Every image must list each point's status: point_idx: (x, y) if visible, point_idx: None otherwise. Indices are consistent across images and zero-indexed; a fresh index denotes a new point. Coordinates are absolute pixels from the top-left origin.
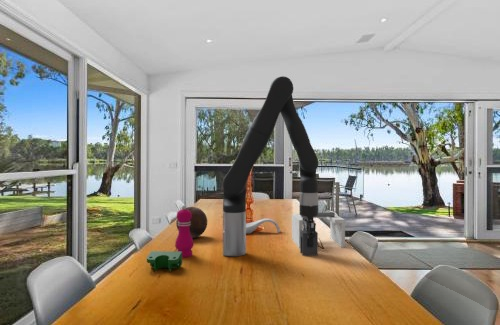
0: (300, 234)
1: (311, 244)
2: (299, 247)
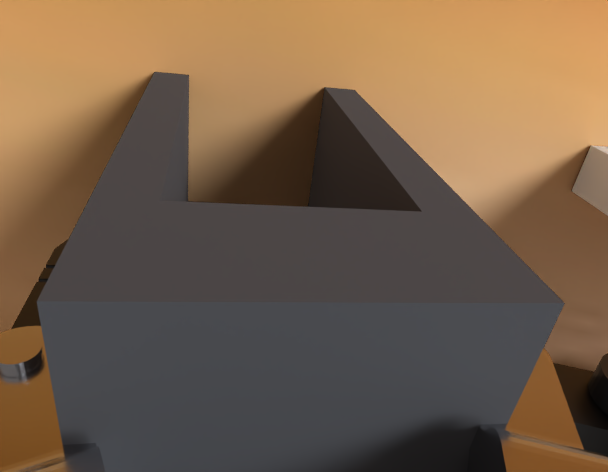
0: (469, 230)
1: None
2: (594, 151)
